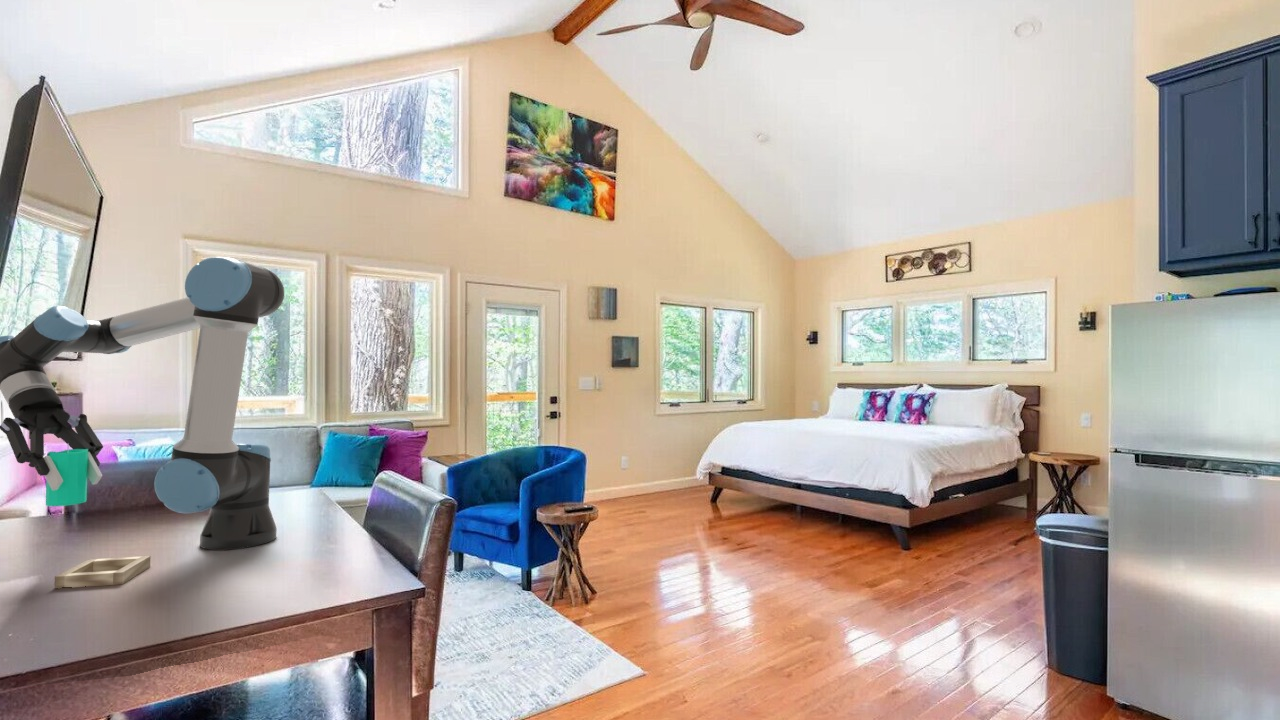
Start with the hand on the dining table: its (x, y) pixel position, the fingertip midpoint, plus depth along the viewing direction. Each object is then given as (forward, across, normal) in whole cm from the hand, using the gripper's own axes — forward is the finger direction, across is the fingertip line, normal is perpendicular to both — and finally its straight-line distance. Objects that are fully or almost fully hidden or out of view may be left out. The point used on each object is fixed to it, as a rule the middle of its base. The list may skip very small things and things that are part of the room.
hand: (78, 482), depth 122 cm
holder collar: (+19, 0, -6) cm, 20 cm away
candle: (+1, 0, -6) cm, 6 cm away
